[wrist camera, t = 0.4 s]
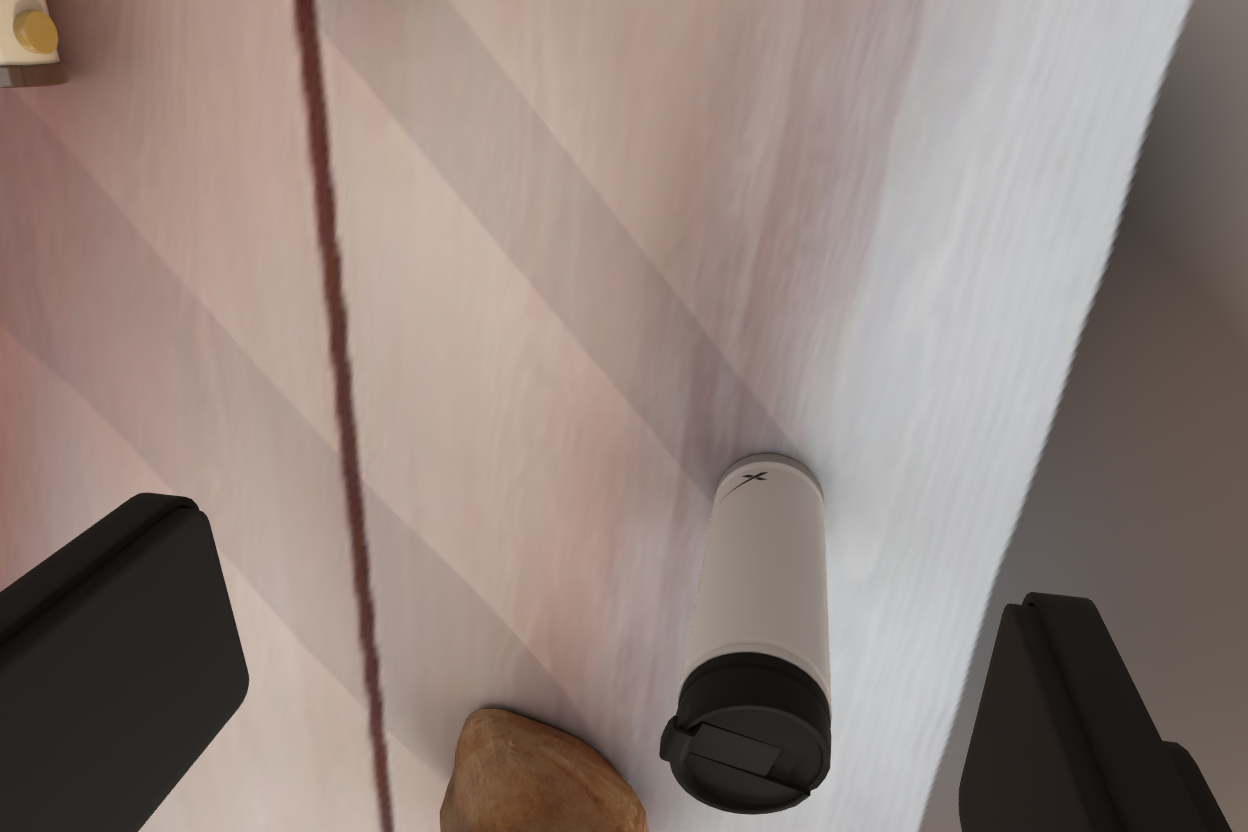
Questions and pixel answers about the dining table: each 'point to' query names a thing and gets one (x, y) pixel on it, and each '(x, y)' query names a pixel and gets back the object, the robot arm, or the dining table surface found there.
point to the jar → (29, 46)
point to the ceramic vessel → (533, 781)
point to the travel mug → (757, 646)
